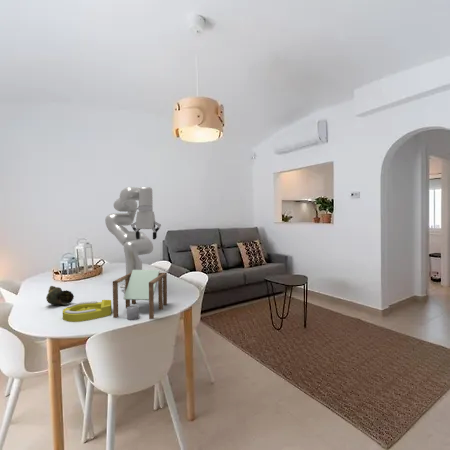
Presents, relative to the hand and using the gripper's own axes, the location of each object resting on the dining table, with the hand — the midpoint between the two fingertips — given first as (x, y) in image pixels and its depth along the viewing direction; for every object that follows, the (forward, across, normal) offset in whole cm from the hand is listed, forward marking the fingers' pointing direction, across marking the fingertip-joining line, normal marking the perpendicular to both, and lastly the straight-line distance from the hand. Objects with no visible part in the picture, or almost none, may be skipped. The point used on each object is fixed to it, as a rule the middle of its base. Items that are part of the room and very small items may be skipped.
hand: (146, 239), depth 161 cm
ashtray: (+34, -18, -30) cm, 48 cm away
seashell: (+34, -40, -19) cm, 56 cm away
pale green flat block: (+24, +6, -18) cm, 30 cm away
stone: (+28, +6, -32) cm, 43 cm away
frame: (+33, +6, -22) cm, 40 cm away
